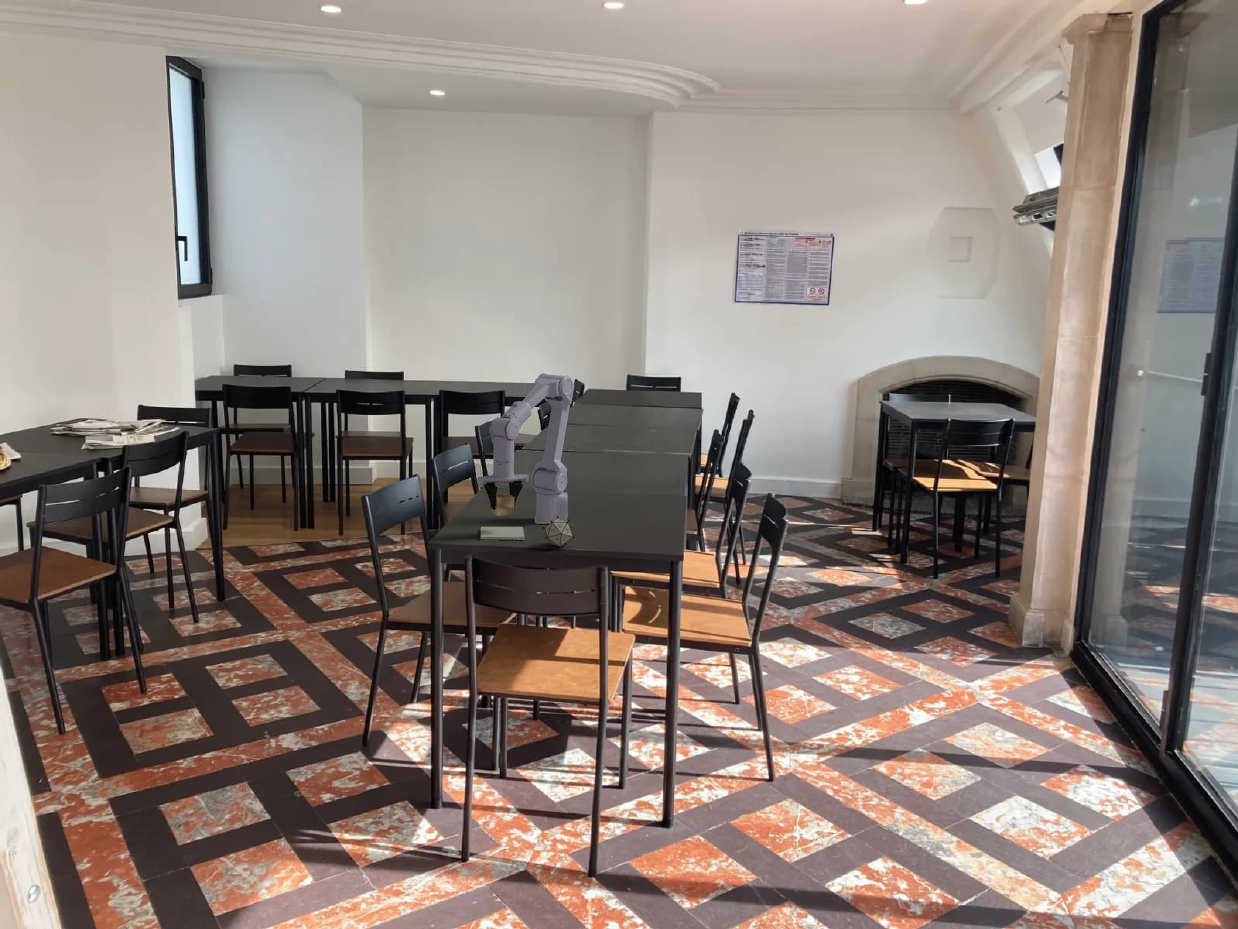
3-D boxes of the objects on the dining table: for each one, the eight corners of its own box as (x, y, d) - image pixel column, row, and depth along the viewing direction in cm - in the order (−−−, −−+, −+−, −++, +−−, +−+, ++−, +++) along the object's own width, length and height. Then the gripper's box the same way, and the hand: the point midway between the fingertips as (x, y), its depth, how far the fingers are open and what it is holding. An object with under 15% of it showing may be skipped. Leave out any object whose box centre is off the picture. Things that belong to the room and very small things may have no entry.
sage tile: (522, 530, 272) (522, 527, 272) (524, 540, 262) (524, 537, 261) (480, 530, 271) (480, 526, 270) (480, 540, 260) (480, 536, 260)
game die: (553, 558, 259) (551, 524, 264) (581, 550, 257) (578, 516, 261) (538, 548, 252) (535, 514, 256) (566, 541, 249) (563, 506, 253)
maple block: (507, 510, 268) (507, 493, 268) (513, 514, 264) (514, 497, 263) (490, 511, 266) (491, 494, 265) (497, 515, 262) (497, 498, 261)
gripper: (522, 456, 269) (521, 503, 272) (474, 459, 262) (473, 506, 265) (532, 461, 263) (530, 508, 265) (482, 463, 256) (481, 512, 259)
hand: (502, 508), depth 265 cm, fingers closed on maple block, 5 cm apart
